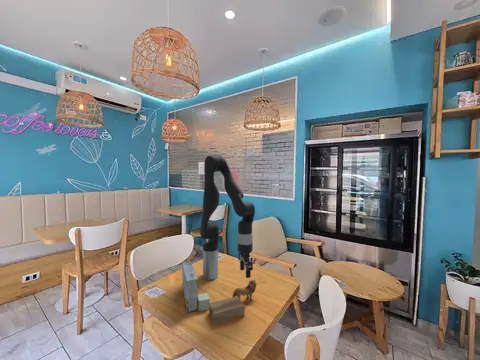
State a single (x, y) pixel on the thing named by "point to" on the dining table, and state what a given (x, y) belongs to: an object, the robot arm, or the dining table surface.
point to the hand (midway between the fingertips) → (245, 273)
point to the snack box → (190, 286)
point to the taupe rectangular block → (226, 310)
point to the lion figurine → (246, 290)
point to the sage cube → (203, 302)
